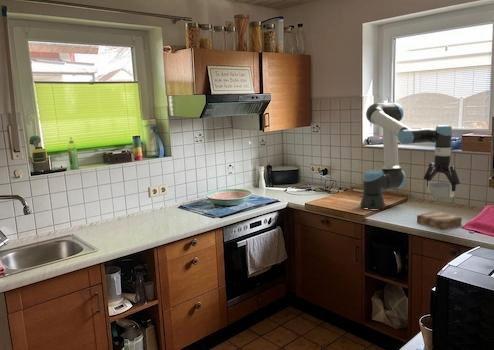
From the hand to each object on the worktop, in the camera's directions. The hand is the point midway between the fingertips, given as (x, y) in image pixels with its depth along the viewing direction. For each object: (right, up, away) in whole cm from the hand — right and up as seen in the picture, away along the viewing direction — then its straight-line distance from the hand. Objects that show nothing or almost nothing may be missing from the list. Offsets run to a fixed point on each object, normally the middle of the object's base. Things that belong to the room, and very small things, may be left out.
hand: (440, 194), depth 221 cm
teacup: (0, -2, +1) cm, 2 cm away
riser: (0, -16, +3) cm, 16 cm away
